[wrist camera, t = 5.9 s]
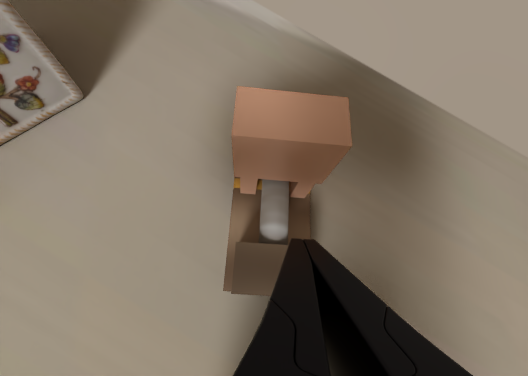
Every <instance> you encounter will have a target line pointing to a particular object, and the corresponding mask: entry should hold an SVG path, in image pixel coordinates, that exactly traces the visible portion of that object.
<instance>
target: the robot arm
mask: <svg viewBox="0 0 528 376" xmlns="http://www.w3.org/2000/svg"><path fill="white" fill-rule="evenodd" d="M233 376H473V375H471V374H470V373H469V372H468V371H466V370H465V369H464V368H463V367H461V366H460V365H459V364H457V363H456V362H455V361H454V360H452V359H451V358H450V357H449V356H447V355H446V354H445V353H443V352H442V351H441V350H440V349H438V348H437V347H436V346H435V345H433V344H432V343H431V342H430V341H428V340H427V339H426V338H425V337H423V336H422V335H421V334H420V333H418V332H417V331H416V330H415V329H414V328H413V327H411V326H410V325H409V324H408V323H407V322H406V321H404V320H403V319H402V318H401V317H400V316H399V315H398V314H397V313H395V312H394V311H393V310H392V309H391V308H390V307H387V305H386V304H385V303H384V302H383V301H382V300H381V299H380V298H379V297H378V296H376V295H375V294H374V293H373V292H372V291H371V290H370V289H369V288H368V287H366V286H365V285H364V284H363V283H362V282H361V281H360V280H359V279H358V278H356V277H355V276H354V275H353V274H352V273H351V272H350V271H349V270H348V269H346V268H345V267H344V266H343V265H342V264H341V263H340V262H339V261H338V260H336V259H335V258H334V257H333V256H332V255H331V254H330V253H329V252H328V251H327V250H325V249H324V248H323V247H322V246H321V245H320V244H319V243H318V242H317V241H315V240H313V239H303V240H302V239H300V238H291V239H290V242H289V245H288V248H287V251H286V254H285V257H284V259H283V262H282V265H281V268H280V271H279V274H278V277H277V280H276V283H275V285H274V288H273V291H272V294H271V297H270V301H269V302H268V305H267V308H266V311H265V313H264V316H263V318H262V321H261V323H260V326H259V328H258V330H257V332H256V334H255V336H254V338H253V340H252V342H251V343H250V345H249V347H248V349H247V351H246V353H245V354H244V356H243V358H242V360H241V362H240V364H239V366H238V367H237V369H236V371H235V373H234V375H233Z"/></svg>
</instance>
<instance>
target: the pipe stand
mask: <svg viewBox="0 0 528 376" xmlns="http://www.w3.org/2000/svg"><path fill="white" fill-rule="evenodd" d="M291 238H300V239H302V240H303V239H311V235H310V192H309V193H308V194H307V196H306V197H305V198H295V197H290V181H279V180H267V179H258V181H257V187H256V193H255V194H244V193H240V177H235V179H234V189H233V199H232V209H231V219H230V229H229V239H228V248H227V258H226V268H225V278H224V288H223V291H231V294H248V295H266V296H271V294H272V291H273V288H274V285H275V283H276V280H277V277H278V274H279V271H280V268H281V265H282V262H283V259H284V257H285V254H286V251H287V248H288V245H289V242H290V239H291Z"/></svg>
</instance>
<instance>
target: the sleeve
mask: <svg viewBox="0 0 528 376" xmlns="http://www.w3.org/2000/svg"><path fill="white" fill-rule="evenodd" d="M351 147H352V137H351V124H350V111H349V99H348V98H347V97H338V96H328V95H318V94H309V93H299V92H290V91H280V90H270V89H261V88H251V87H241V86H237V92H236V101H235V110H234V118H233V127H232V149H233V165H234V177H240V193H244V194H255V193H256V187H257V181H258V179H267V180H279V181H290V197H295V198H305V197H306V196H307V194H308V193H309V192H310V190H311V189H312V188H313V186H314V185H315V184H322V183H323V181H324V180H325V179H326V178H327V176H328V175H329V174H330V173H331V172H332V170H333V169H334V168H335V167H336V165H337V164H338V163H339V162H340V161H341V159H342V158H343V157H344V156H345V155H346V153H347V152H348V151H349V150H350V148H351Z"/></svg>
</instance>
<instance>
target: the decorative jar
mask: <svg viewBox="0 0 528 376" xmlns="http://www.w3.org/2000/svg"><path fill="white" fill-rule="evenodd" d="M81 99H83V93H82V91H81V90H80V88H79V87H78V86H77V85H76V83H75V82H74V81H73V79H72V78H71V77H70V76H69V74H68V73H67V71H66V70H65V69H64V68H63V66H62V65H61V64H60V63H59V61H58V60H57V59H56V58H55V57H54V55H53V54H52V53H51V51H50V50H49V49H48V48H47V47H46V46H45V44H44V43H43V42H42V41H41V40H40V38H39V37H38V36H37V35H36V34H35V32H34V31H33V30H32V29H31V28H30V26H29V25H28V24H27V23H26V22H25V20H24V19H23V18H22V17H21V15H20V14H19V13H18V12H17V11H16V10H15V8H14V7H13V6H12V5H11V3H10V2H9V0H0V145H2V144H3V143H5V142H7V141H8V140H10V139H12V138H14V137H16V136H18V135H20V134H22V133H23V132H25V131H27V130H29V129H30V128H32V127H34V126H35V125H37V124H39V123H40V122H42V121H44V120H46V119H47V118H49V117H51V116H53V115H54V114H56V113H58V112H60V111H62V110H64V109H65V108H67V107H69V106H71V105H73V104H75V103H76V102H78V101H80V100H81Z"/></svg>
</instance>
